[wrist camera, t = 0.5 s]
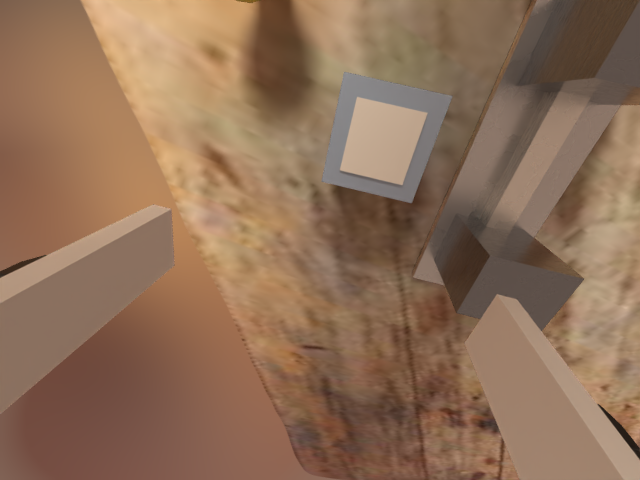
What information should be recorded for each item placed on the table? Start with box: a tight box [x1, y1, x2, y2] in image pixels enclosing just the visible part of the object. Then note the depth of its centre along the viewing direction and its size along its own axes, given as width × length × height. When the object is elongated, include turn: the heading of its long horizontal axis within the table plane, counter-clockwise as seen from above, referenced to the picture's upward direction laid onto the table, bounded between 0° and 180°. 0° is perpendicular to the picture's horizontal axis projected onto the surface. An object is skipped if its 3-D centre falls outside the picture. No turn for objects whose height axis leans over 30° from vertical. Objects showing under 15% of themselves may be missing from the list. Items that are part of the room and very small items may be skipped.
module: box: [322, 72, 453, 203], centre depth 23 cm, size 8×7×9 cm
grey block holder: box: [412, 0, 640, 331], centre depth 22 cm, size 30×10×10 cm, turn 168°
